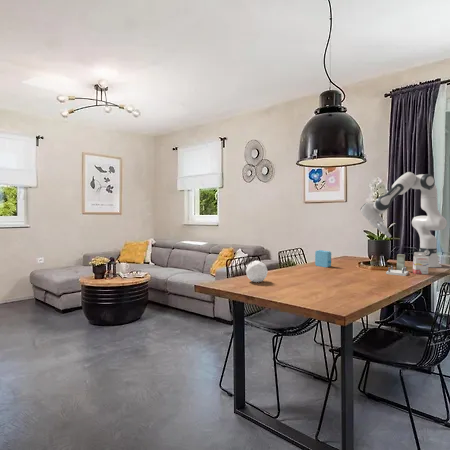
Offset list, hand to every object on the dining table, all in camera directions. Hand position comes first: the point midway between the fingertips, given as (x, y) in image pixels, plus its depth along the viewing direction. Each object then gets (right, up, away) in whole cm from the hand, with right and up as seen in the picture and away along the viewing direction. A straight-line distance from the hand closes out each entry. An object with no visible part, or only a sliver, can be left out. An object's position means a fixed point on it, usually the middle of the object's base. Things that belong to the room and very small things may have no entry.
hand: (390, 237), depth 266 cm
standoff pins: (0, -23, -11) cm, 26 cm away
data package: (-43, -23, +19) cm, 53 cm away
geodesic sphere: (-100, -27, -37) cm, 110 cm away
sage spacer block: (+7, -24, -1) cm, 25 cm away
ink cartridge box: (+16, -25, -11) cm, 32 cm away
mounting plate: (0, -25, -11) cm, 27 cm away
